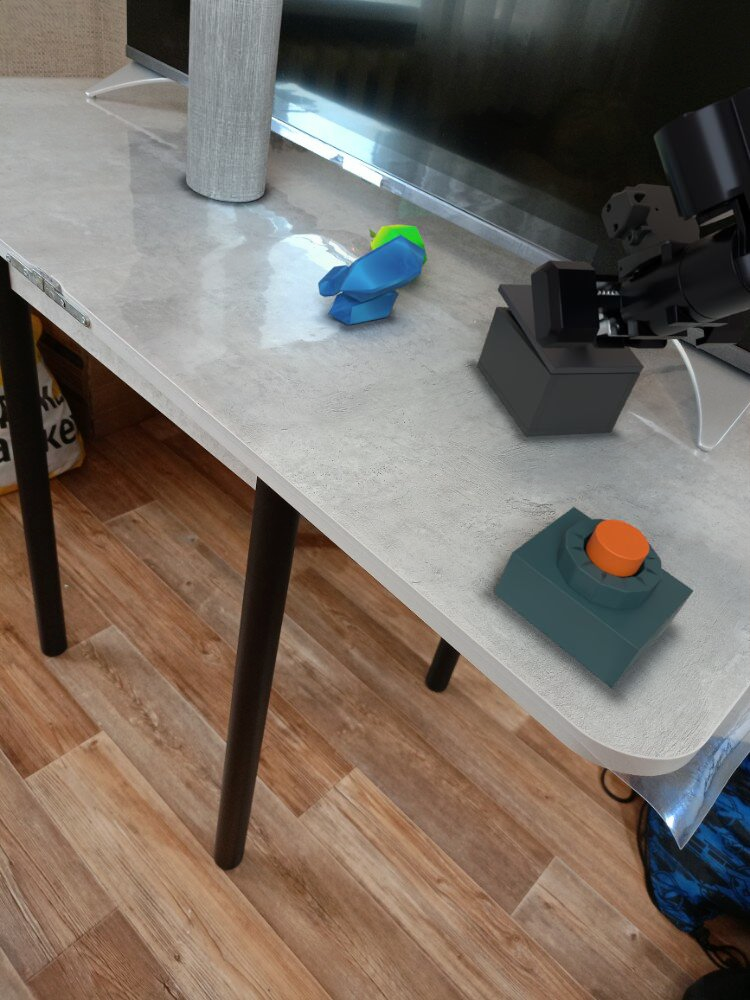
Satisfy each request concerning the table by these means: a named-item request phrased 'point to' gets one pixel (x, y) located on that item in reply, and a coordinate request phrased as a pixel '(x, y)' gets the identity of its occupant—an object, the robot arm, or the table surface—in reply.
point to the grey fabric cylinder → (231, 96)
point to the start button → (617, 548)
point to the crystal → (372, 281)
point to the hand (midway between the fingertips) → (578, 332)
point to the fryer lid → (566, 358)
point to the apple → (392, 232)
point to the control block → (590, 597)
